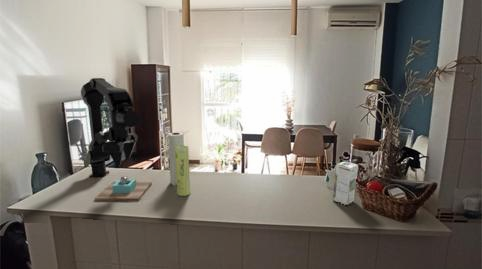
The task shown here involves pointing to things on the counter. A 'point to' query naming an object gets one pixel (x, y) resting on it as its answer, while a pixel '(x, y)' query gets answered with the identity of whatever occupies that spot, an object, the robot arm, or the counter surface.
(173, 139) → the paper towel roll
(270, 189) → the counter surface
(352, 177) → the syrup box
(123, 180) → the post
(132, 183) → the ring
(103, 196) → the base plate
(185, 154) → the tube
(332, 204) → the counter surface
